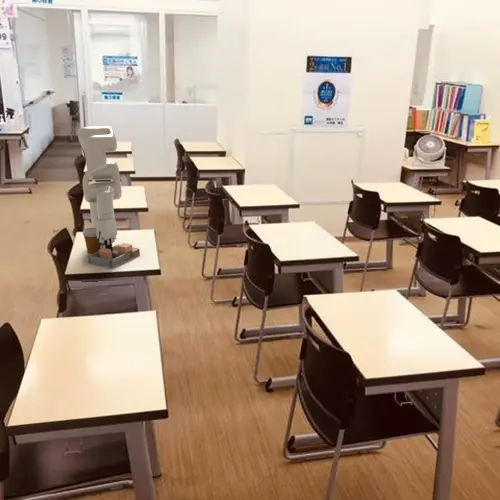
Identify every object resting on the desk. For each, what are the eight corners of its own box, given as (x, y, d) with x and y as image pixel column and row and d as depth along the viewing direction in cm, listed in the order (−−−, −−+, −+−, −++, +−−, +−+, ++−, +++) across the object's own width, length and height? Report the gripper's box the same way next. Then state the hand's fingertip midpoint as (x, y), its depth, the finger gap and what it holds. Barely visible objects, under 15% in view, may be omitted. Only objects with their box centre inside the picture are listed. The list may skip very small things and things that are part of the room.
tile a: (102, 247, 262) (98, 250, 260) (110, 249, 260) (106, 252, 258) (104, 256, 265) (100, 259, 262) (112, 258, 263) (108, 261, 260)
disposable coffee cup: (98, 256, 267) (96, 233, 263) (81, 255, 269) (78, 232, 265) (107, 250, 276) (105, 227, 272) (90, 248, 278) (88, 226, 274)
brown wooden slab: (118, 249, 277) (118, 244, 276) (139, 254, 271) (139, 248, 270) (104, 256, 267) (103, 250, 266) (125, 261, 262) (125, 255, 261)
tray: (102, 256, 267) (102, 249, 266) (125, 261, 261) (124, 254, 260) (88, 262, 259) (87, 256, 258) (111, 268, 253) (110, 261, 252)
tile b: (124, 248, 270) (124, 243, 269) (132, 250, 267) (132, 244, 266) (117, 251, 265) (117, 245, 264) (125, 253, 263) (125, 247, 262)
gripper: (110, 210, 266) (113, 245, 272) (88, 218, 253) (92, 255, 259) (122, 212, 262) (125, 248, 269) (101, 220, 250) (104, 257, 256)
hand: (109, 251), depth 264 cm, fingers closed
